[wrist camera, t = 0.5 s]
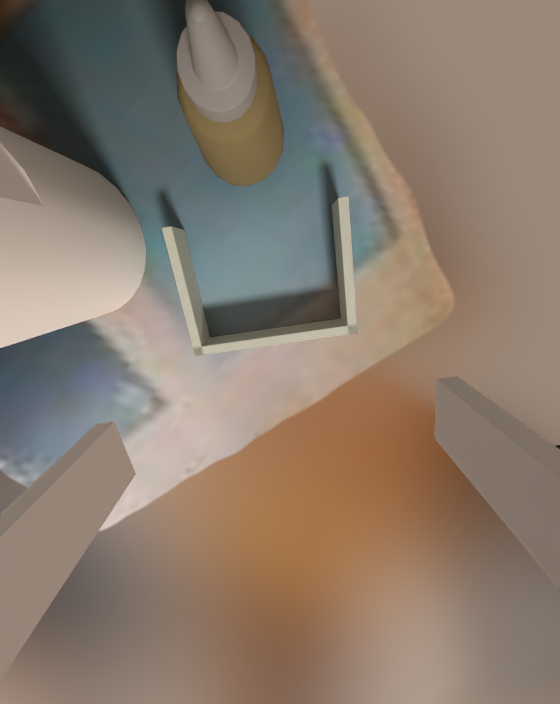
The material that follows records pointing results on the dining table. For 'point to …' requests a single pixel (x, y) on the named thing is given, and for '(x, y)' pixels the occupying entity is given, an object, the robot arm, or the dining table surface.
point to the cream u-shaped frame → (272, 336)
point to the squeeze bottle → (228, 96)
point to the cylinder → (61, 242)
